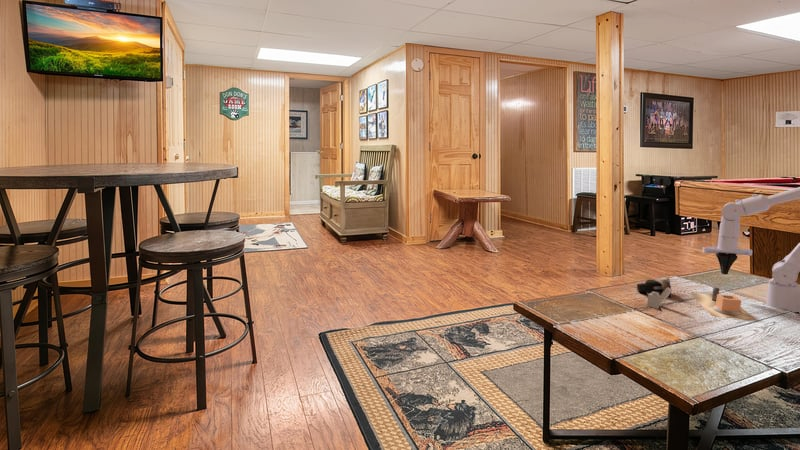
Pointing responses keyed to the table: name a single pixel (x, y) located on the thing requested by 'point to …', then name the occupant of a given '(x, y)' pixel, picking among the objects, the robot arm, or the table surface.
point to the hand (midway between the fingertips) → (724, 273)
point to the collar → (728, 303)
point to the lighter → (657, 298)
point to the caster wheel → (654, 286)
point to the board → (710, 306)
